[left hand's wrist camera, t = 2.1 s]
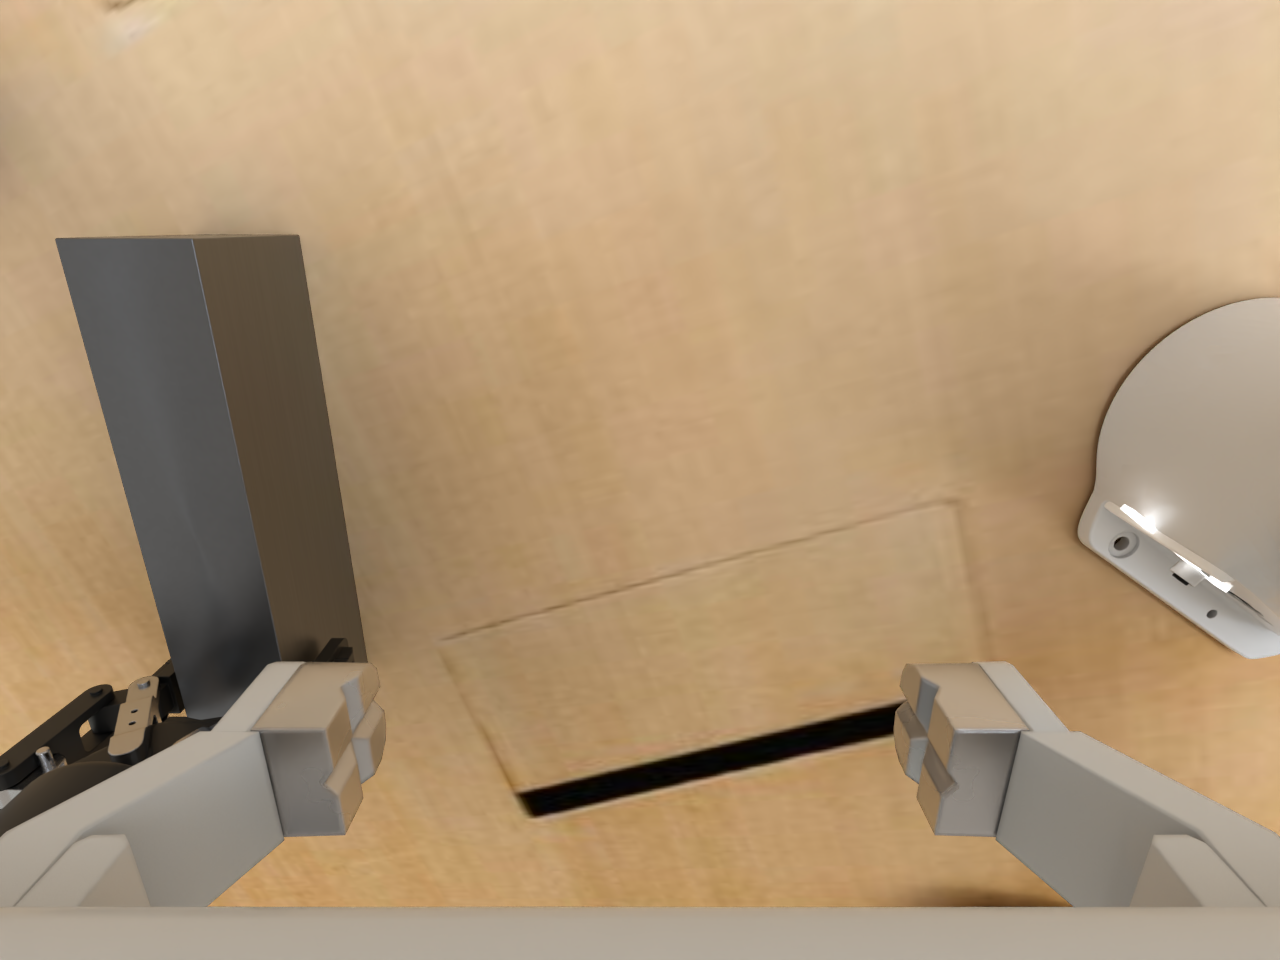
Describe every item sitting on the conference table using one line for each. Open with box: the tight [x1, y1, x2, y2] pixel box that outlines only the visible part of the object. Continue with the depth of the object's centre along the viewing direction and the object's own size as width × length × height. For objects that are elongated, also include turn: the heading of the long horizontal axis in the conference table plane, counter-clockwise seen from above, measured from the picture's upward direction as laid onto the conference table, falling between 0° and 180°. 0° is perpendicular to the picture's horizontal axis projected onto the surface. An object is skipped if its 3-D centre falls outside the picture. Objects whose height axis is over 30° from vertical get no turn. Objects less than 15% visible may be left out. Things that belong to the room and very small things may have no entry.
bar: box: [55, 235, 367, 720], centre depth 35 cm, size 26×5×9 cm, turn 0°
